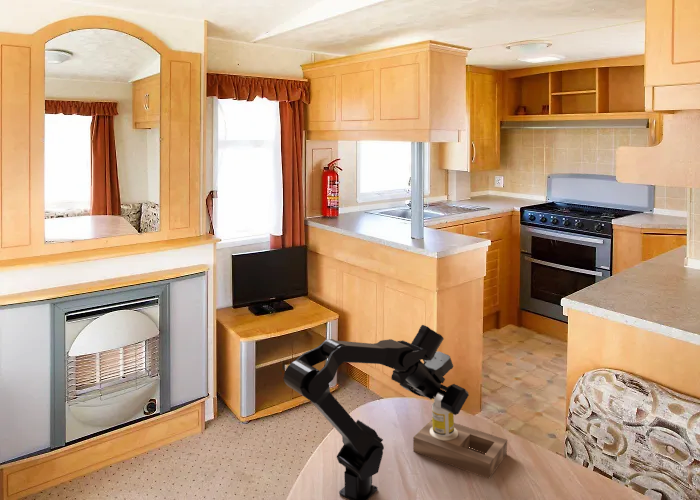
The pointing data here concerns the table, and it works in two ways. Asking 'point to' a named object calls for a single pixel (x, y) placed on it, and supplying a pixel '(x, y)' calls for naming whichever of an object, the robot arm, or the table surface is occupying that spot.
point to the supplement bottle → (441, 419)
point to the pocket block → (462, 448)
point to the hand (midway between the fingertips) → (448, 402)
